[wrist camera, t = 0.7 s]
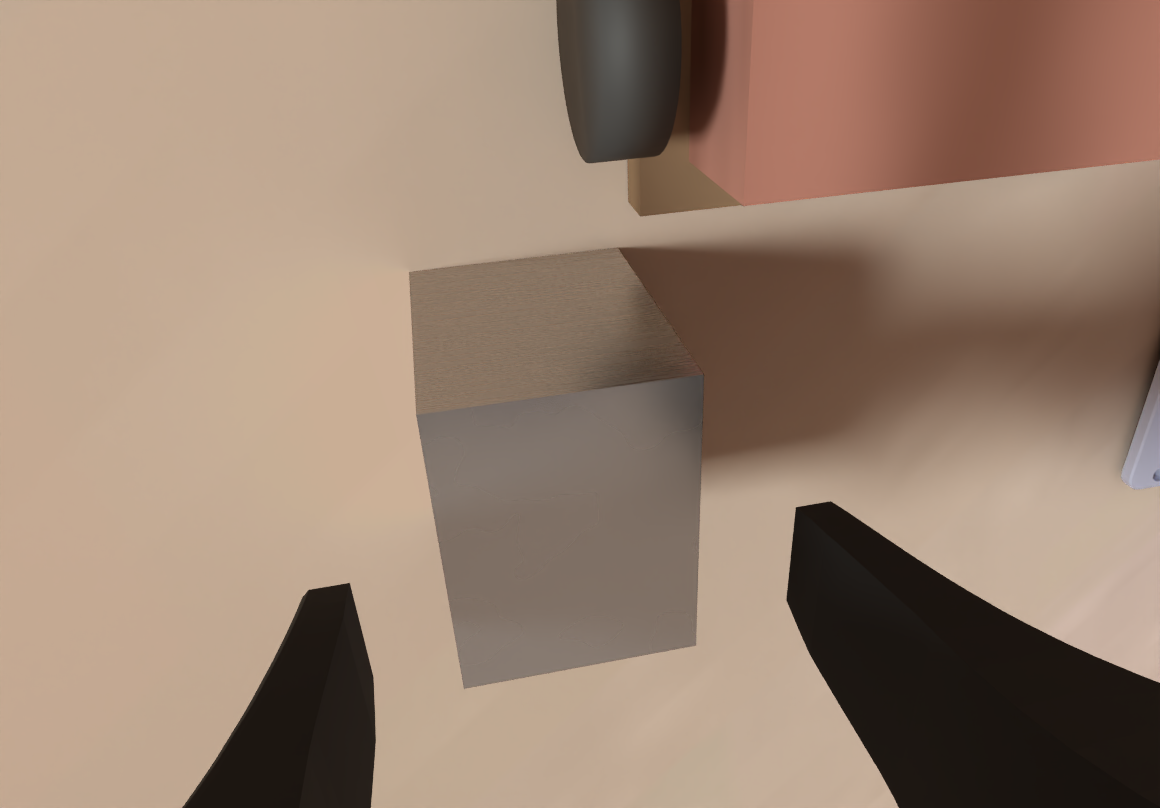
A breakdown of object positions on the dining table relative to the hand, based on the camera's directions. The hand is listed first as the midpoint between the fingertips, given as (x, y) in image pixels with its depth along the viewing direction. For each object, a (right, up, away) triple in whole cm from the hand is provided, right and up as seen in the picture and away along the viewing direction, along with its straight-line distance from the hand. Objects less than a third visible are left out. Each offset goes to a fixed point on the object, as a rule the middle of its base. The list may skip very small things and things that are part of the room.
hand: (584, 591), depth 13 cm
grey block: (-1, +4, +6) cm, 7 cm away
